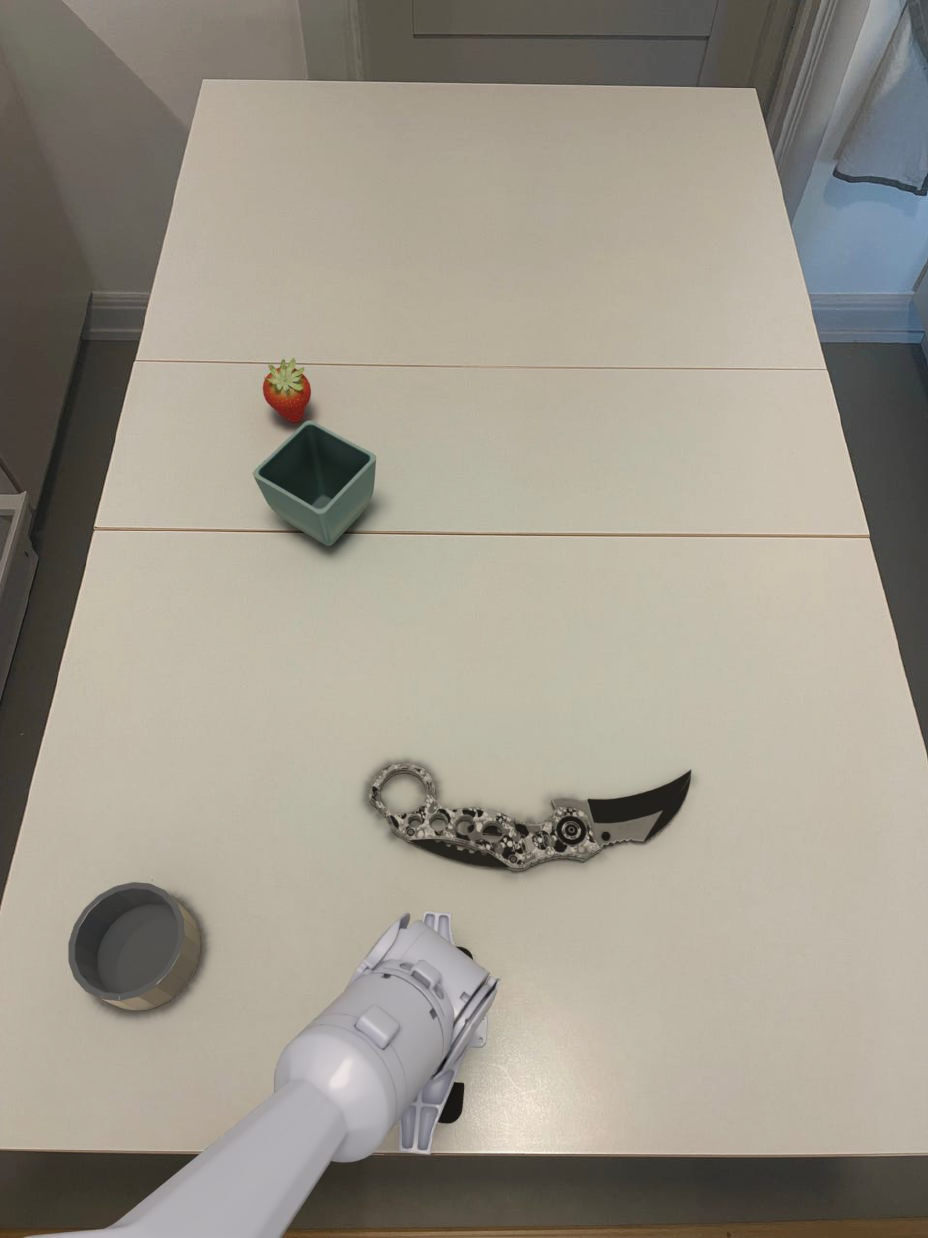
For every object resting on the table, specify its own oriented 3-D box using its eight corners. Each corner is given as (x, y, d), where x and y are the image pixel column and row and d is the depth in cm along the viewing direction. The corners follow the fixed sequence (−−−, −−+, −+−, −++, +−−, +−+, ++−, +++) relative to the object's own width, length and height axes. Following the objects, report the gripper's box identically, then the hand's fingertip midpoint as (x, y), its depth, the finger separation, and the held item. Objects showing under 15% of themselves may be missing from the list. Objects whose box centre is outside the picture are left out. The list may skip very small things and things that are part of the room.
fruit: (277, 441, 99) (265, 388, 92) (264, 408, 101) (251, 354, 94) (321, 429, 100) (312, 375, 93) (307, 396, 102) (298, 342, 95)
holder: (186, 1015, 68) (167, 1005, 64) (79, 1005, 68) (52, 994, 64) (211, 904, 73) (195, 887, 68) (110, 895, 73) (87, 877, 68)
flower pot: (265, 529, 92) (249, 472, 85) (319, 475, 96) (308, 417, 88) (331, 569, 90) (321, 514, 82) (383, 512, 94) (378, 455, 86)
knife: (693, 765, 78) (704, 877, 73) (689, 773, 80) (699, 883, 74) (374, 748, 79) (360, 857, 73) (375, 755, 80) (362, 864, 74)
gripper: (482, 1160, 50) (474, 1159, 62) (498, 901, 58) (488, 943, 70) (359, 1148, 51) (374, 1149, 62) (391, 891, 58) (399, 935, 70)
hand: (428, 1040), depth 66 cm, fingers open, 6 cm apart
